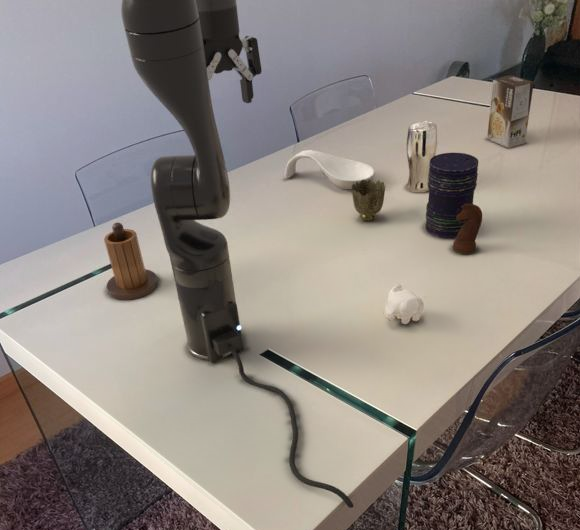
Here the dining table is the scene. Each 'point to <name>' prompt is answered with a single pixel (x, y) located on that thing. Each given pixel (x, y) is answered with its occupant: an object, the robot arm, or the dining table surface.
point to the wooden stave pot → (126, 260)
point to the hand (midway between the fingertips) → (226, 107)
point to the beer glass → (420, 154)
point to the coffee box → (509, 110)
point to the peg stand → (135, 292)
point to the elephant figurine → (403, 305)
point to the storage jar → (449, 192)
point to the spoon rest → (334, 168)
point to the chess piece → (468, 229)
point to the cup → (368, 198)
